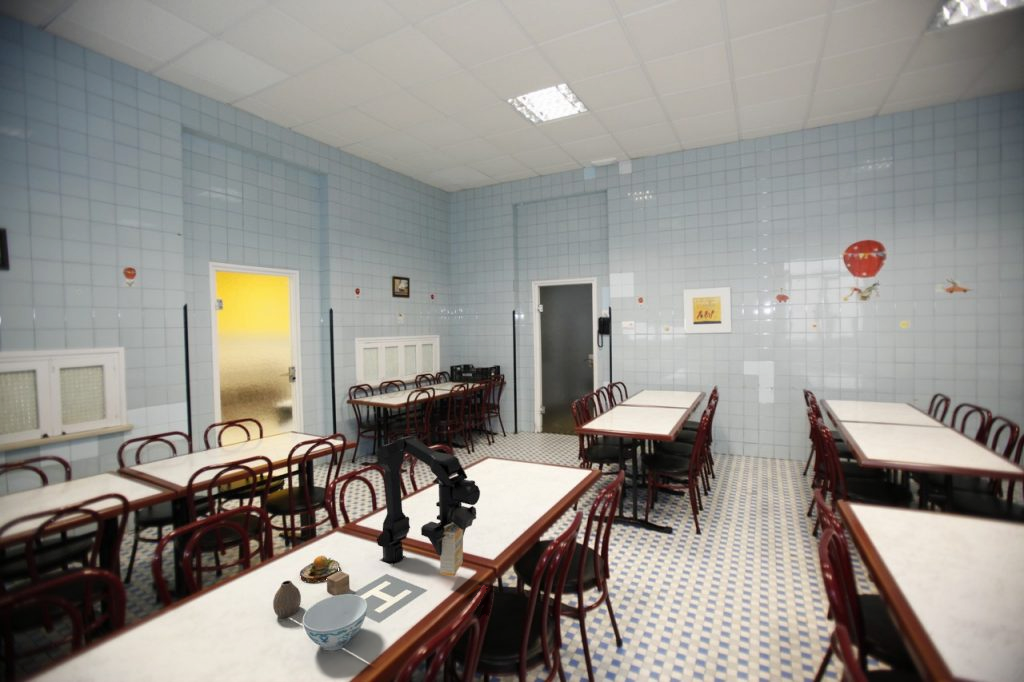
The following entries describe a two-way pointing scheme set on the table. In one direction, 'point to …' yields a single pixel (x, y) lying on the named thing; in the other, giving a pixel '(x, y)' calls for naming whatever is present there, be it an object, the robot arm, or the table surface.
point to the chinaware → (335, 620)
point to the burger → (319, 569)
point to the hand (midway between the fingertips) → (449, 549)
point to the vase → (286, 600)
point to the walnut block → (338, 583)
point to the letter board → (387, 596)
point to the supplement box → (451, 550)
